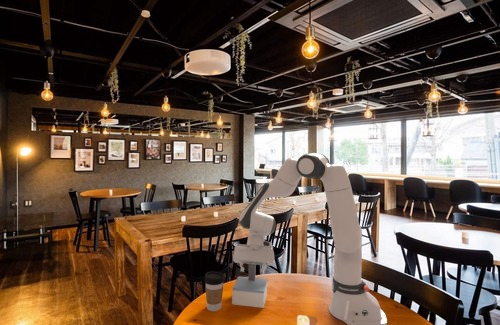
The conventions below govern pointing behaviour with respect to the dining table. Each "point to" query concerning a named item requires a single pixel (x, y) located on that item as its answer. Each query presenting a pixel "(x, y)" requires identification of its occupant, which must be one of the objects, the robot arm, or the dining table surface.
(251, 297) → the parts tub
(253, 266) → the lid
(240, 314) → the dining table surface
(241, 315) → the dining table surface
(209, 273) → the coffee cup
